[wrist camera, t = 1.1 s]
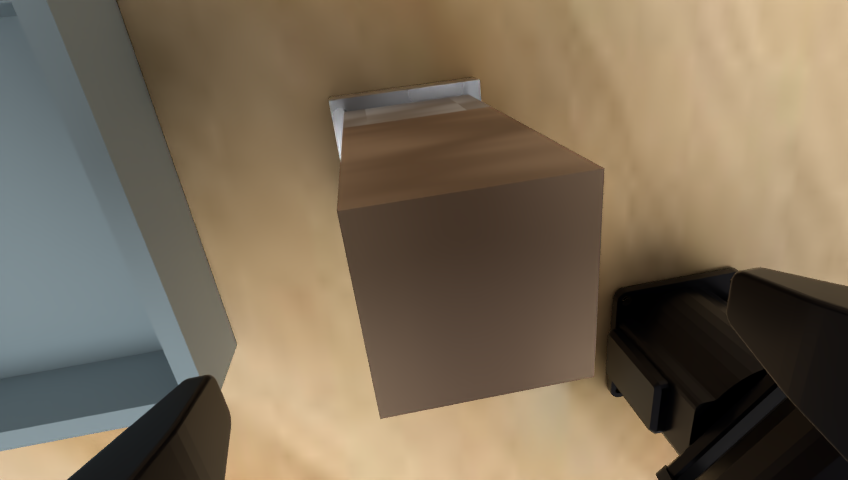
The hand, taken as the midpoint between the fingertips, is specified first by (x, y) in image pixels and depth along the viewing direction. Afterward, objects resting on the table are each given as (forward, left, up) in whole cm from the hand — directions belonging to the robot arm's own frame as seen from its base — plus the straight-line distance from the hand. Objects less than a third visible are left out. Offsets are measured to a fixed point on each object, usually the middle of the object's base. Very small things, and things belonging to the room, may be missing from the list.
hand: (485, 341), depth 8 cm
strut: (0, 0, -11) cm, 11 cm away
